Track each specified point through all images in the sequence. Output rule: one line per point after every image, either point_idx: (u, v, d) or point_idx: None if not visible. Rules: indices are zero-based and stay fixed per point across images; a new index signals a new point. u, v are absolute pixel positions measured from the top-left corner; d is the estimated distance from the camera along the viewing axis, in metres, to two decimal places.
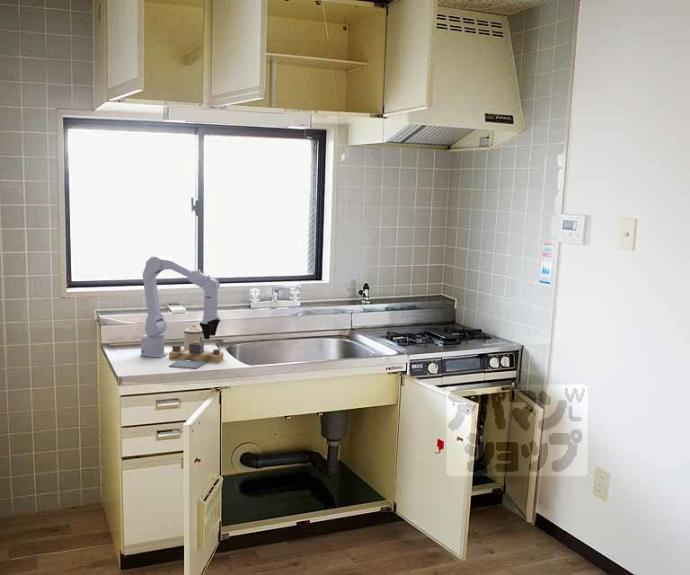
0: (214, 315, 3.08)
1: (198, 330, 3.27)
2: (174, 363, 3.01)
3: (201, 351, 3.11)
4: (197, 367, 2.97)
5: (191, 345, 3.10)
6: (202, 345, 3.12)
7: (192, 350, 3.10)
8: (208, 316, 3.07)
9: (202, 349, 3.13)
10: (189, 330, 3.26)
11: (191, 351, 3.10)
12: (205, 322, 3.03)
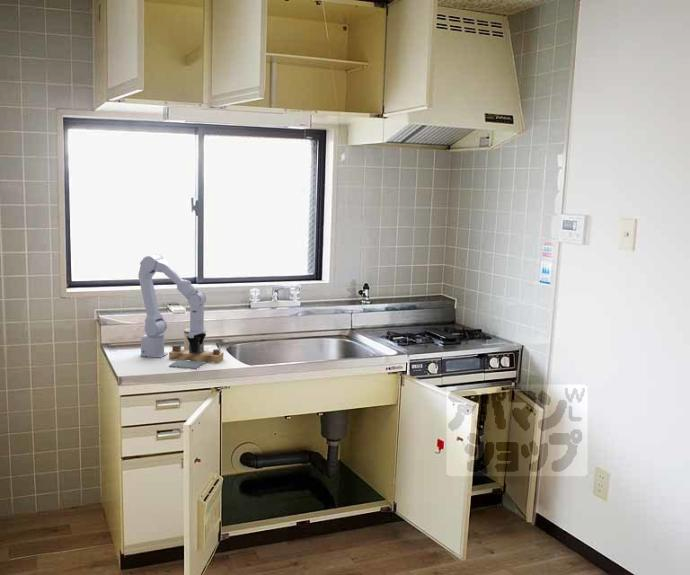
0: (200, 329, 3.09)
1: None
2: (174, 363, 3.01)
3: (201, 351, 3.11)
4: (197, 367, 2.97)
5: None
6: (202, 345, 3.12)
7: None
8: (194, 330, 3.08)
9: (202, 349, 3.13)
10: (189, 330, 3.26)
11: (191, 351, 3.10)
12: (191, 336, 3.04)
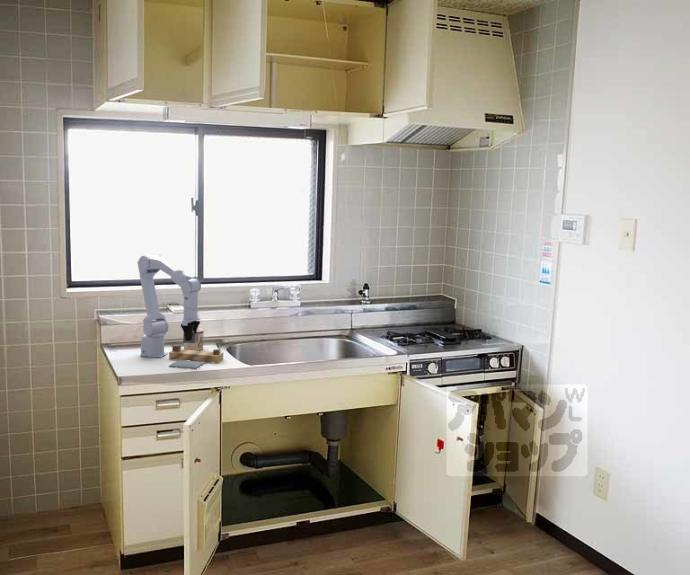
0: (194, 316, 3.00)
1: (198, 330, 3.27)
2: (174, 363, 3.01)
3: (196, 340, 3.02)
4: (197, 367, 2.97)
5: None
6: (197, 334, 3.03)
7: None
8: (188, 317, 2.99)
9: (197, 338, 3.04)
10: None
11: (185, 340, 3.01)
12: (185, 324, 2.95)
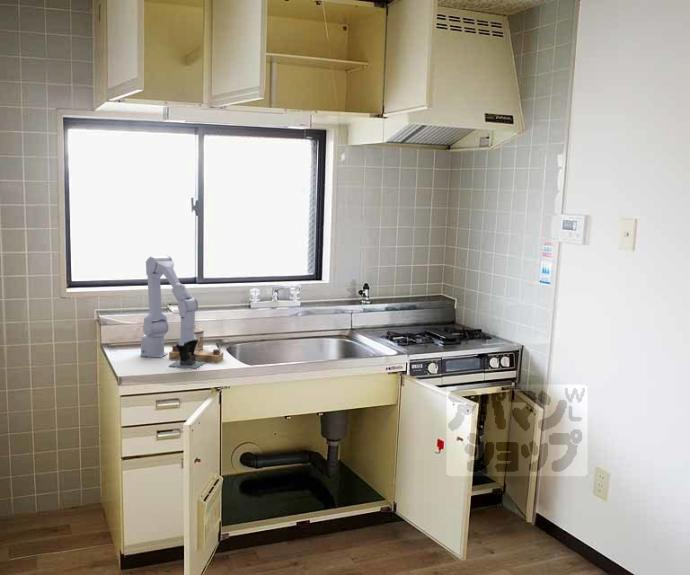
0: (191, 336, 2.98)
1: (198, 330, 3.27)
2: (174, 363, 3.01)
3: (193, 362, 3.01)
4: (197, 367, 2.97)
5: None
6: (194, 356, 3.01)
7: (183, 361, 2.99)
8: (185, 337, 2.97)
9: (194, 360, 3.02)
10: None
11: (182, 362, 3.00)
12: (181, 344, 2.93)
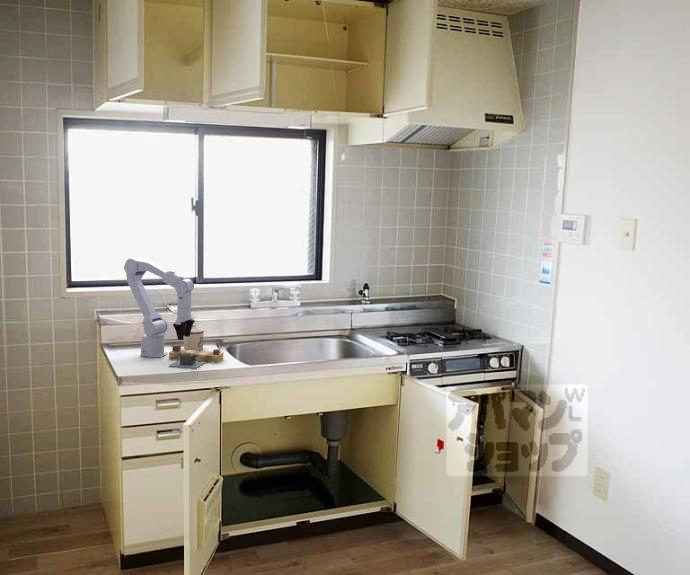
0: (188, 316, 3.07)
1: (198, 330, 3.27)
2: (174, 363, 3.01)
3: (193, 362, 3.01)
4: (197, 367, 2.97)
5: (182, 356, 2.99)
6: (194, 356, 3.01)
7: (183, 361, 2.99)
8: (182, 317, 3.06)
9: (194, 360, 3.02)
10: None
11: (182, 362, 3.00)
12: (178, 323, 3.02)
